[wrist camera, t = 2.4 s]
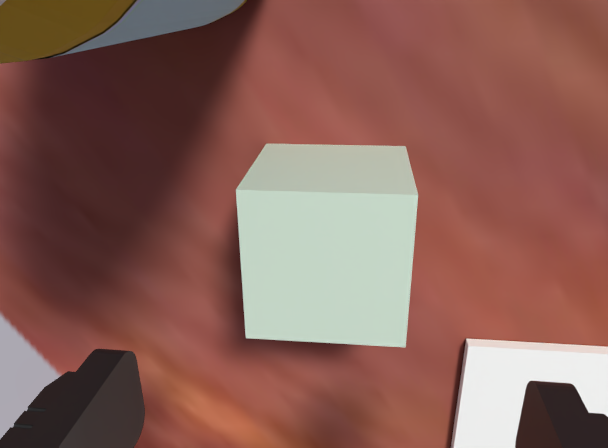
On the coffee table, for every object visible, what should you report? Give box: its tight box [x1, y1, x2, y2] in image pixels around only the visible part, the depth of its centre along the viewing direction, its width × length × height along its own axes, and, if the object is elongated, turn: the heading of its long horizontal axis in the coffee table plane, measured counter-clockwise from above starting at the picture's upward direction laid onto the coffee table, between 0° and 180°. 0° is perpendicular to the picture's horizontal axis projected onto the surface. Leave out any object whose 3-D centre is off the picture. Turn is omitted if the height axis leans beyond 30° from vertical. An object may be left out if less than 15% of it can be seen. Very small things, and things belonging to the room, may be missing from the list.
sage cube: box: [236, 144, 418, 347], centre depth 18 cm, size 5×5×5 cm
